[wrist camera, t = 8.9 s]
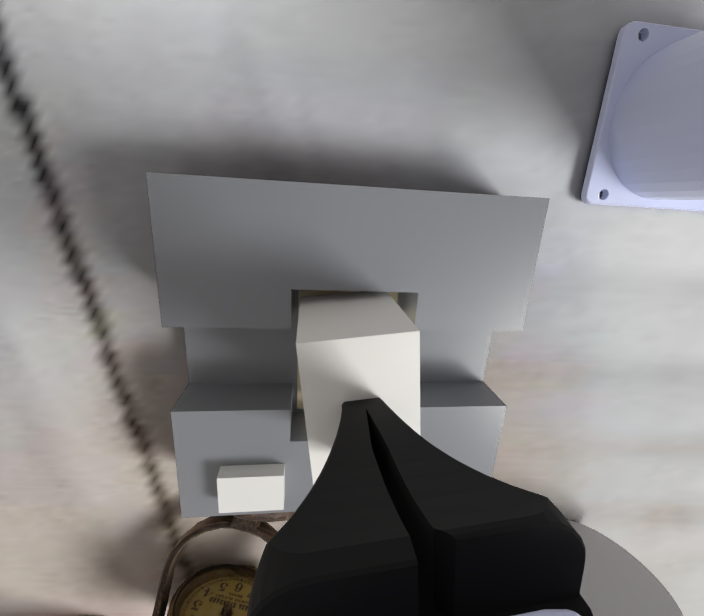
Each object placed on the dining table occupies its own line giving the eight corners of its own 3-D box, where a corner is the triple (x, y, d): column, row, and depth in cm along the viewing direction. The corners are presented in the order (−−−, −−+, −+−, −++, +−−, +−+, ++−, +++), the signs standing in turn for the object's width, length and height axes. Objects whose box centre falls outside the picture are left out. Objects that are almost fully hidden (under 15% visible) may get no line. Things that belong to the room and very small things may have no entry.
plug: (381, 284, 18) (419, 331, 11) (385, 390, 19) (420, 479, 13) (301, 291, 17) (295, 343, 11) (313, 398, 19) (314, 494, 13)
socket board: (505, 198, 18) (562, 198, 14) (460, 457, 23) (494, 513, 19) (179, 177, 16) (135, 170, 12) (201, 466, 21) (175, 532, 17)
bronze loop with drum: (53, 702, 18) (218, 805, 18) (163, 551, 14) (363, 683, 15) (149, 566, 25) (267, 643, 25) (239, 442, 21) (373, 534, 22)
